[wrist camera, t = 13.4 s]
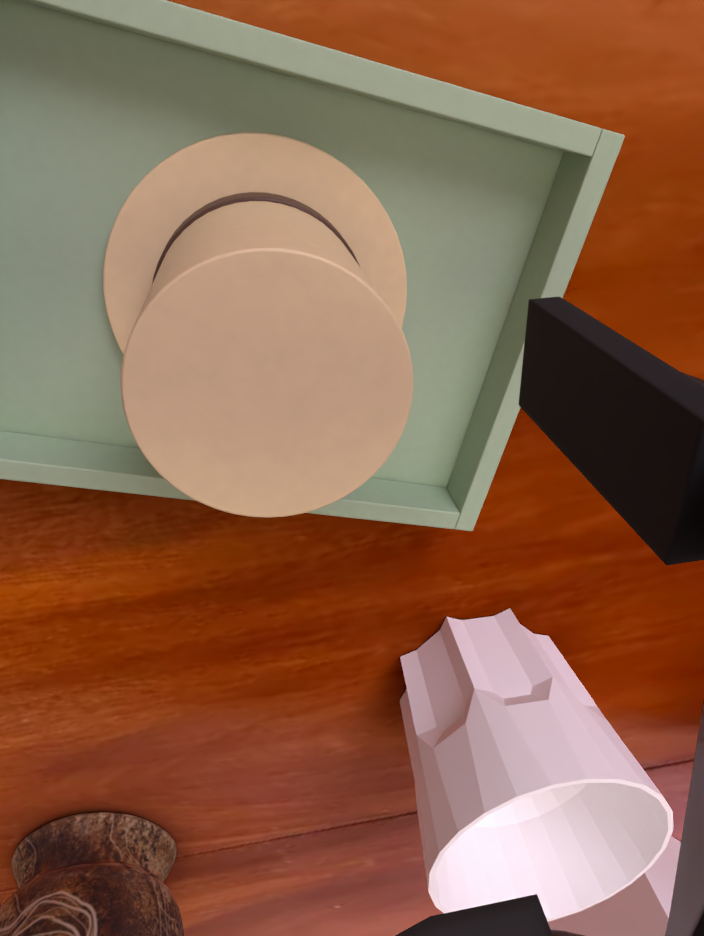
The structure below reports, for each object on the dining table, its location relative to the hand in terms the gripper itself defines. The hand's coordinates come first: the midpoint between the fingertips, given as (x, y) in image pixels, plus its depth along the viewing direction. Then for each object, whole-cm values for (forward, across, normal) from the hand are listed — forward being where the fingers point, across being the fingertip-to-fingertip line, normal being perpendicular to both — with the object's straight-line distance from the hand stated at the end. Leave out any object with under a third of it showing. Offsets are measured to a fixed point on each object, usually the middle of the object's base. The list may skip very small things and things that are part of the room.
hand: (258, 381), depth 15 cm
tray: (+9, 0, 0) cm, 9 cm away
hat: (+8, 0, 0) cm, 8 cm away
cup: (+9, +9, -21) cm, 24 cm away
